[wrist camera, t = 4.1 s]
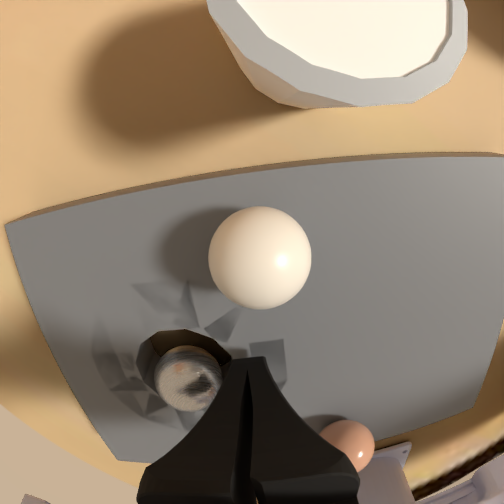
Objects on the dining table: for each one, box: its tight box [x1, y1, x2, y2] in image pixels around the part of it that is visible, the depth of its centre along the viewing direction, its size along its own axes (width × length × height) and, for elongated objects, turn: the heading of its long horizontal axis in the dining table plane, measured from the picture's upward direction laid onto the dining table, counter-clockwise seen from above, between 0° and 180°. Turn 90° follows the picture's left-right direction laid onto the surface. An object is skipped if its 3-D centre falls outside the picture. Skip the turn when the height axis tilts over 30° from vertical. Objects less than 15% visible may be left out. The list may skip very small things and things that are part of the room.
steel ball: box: [154, 345, 223, 412], centre depth 14 cm, size 3×3×3 cm
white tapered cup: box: [206, 0, 468, 109], centre depth 8 cm, size 7×7×7 cm
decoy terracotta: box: [319, 420, 375, 473], centre depth 14 cm, size 3×3×3 cm
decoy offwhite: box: [208, 206, 311, 310], centre depth 10 cm, size 3×3×3 cm
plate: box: [5, 152, 504, 463], centre depth 15 cm, size 24×16×2 cm, turn 98°
